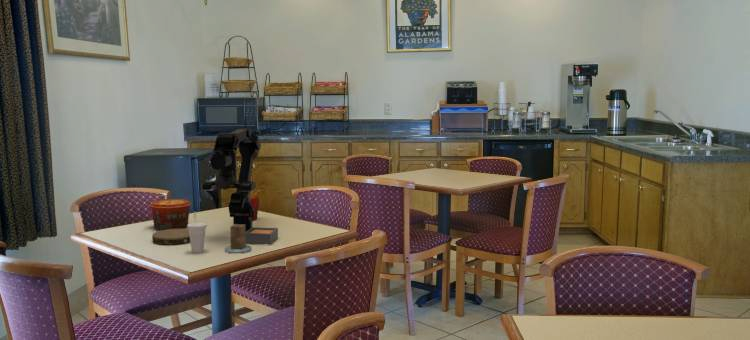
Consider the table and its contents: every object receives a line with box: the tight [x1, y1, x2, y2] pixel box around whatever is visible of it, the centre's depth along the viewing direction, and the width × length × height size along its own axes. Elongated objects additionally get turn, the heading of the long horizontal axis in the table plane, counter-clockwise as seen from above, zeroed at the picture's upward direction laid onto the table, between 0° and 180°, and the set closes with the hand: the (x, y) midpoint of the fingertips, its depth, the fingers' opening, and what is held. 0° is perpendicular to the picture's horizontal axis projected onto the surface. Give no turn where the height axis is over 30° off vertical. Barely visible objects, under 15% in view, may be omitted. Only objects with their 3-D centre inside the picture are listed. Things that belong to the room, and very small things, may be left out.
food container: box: [149, 198, 192, 231], centre depth 237 cm, size 16×16×11 cm
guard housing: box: [246, 226, 279, 245], centre depth 216 cm, size 10×10×4 cm
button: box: [250, 229, 273, 234], centre depth 216 cm, size 8×8×2 cm
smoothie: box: [186, 211, 208, 254], centre depth 200 cm, size 6×6×14 cm
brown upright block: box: [229, 224, 247, 250], centre depth 203 cm, size 4×4×8 cm
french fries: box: [248, 188, 261, 222], centre depth 252 cm, size 9×8×15 cm
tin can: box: [151, 228, 191, 247], centre depth 217 cm, size 16×16×3 cm
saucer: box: [224, 244, 252, 254], centre depth 203 cm, size 9×9×1 cm
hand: (229, 208), depth 216 cm, fingers open, 9 cm apart
